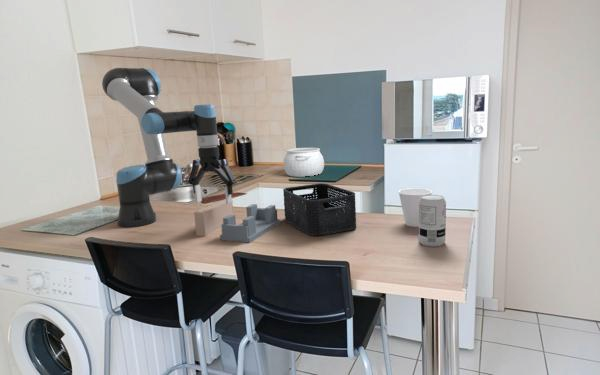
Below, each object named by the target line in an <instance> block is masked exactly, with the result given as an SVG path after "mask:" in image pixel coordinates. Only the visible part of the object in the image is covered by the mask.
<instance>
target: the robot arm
mask: <svg viewBox="0 0 600 375" xmlns="http://www.w3.org/2000/svg"><path fill="white" fill-rule="evenodd" d="M101 82H102V83H101V84H102V86H101V87H102V90H103V91H104V94H106V96H107V97H108V98H110V99H111V100H113V101H114V102H115V101H116V102H118V103H120V104H121V105H122V106H123V107H124V108H126V109H127V110H128V111H129V112H131V113H132V114H133V115H134V116H135V117H136V118H137V121H138V124H139V128H140V133H141V136H142V137H141V138H142V141H143V142H142V143H143V146H144V150H145V155H146V162H145V163H144V164H136V165H130V166H126V167H123V168H121V169H119V170H117V172H116V184H117V191H118V192H117V193H118V194H117V195H118V200H119V211H118V217H117V226H119V227H121V228H122V227H123V228H134V227H143V226H146V225H151V224H153V223H154V222H156V221H157V214H156V212H154V209H153V206H152V204H151V202H150V201H151V200H150V199H151V198H150V195H155V194H160V193H165V192H166V193H167V192H171V191H173V190H177V189H178V188H179V187H180V185H181V182H182V174H183V173H182V169H181V167H180V166H179V164H177V163H176V162H174V161H173V158H172V157H171V156H169V155H168V151H167V146H166V141H165V138H164V134H171V133H172V134H173V133H183V132H194V131H195V132H196V139H197V146H198V149H197V151H198V158H199V159H197V158H196V159H193V160H192V167H191V171H190V174H189V177H188V181H187V184H189V185H190V184H191V186H192V188H193V194H194V195H195V196H194V197H195V203H197V204H198V203H201V202H200V201H202V198H203V197H202V189H201V187H202V186H201V184H200V182H201V180H202V178H203V176H204V175H205V174H206V173H208V172H210V173H211V172H214V173H215V174H217V175H218V177H219V178H220V180H222V182H223V183H224V184H225V186H224V194H225V195H226V199H225V200H226V204H228V203H231V202H232V201H233V200H232V199H233V198H231V194H232V193H234V192H233V186H234V185H236V184H237V180H236V178H235V176H234V174H233V172H232V170H231V168H230V166H229V164H228V159H227V158H224V159H220V147H219V137H218V126H217V124H218V123H217V114H216V109H215V106H214V105H213V104H196V105H194V107H193V110H184V111H170V112H169V111H167V112H164V111H162V110H161V109H159V108H158V107H157V100H158V98H159V95H160V94H161V93H160V92H161V87H162V86H161V85H162V84H161V80H160V77H159V76H158V74H157V73H156V72H155V71H154V70H153V69H150V68H145V67H144V68H143V67H141V68H137V67H135V68H134V67H133V68H132V67H131V68H130V67H129V68H128V67H115V68H112V69H110V70H108V71H107V72H106V73H105V74H104V76H103V78H102V80H101ZM199 167H200V168H199Z"/></svg>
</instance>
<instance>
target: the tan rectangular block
mask: <svg viewBox="0 0 600 375" xmlns="http://www.w3.org/2000/svg"><path fill="white" fill-rule="evenodd" d="M233 203H234V200H232V202H231V203H228V204H226V199H224V200H220V201H216V202H214V203H213V204H210V205H208V206H206V207H203V208H201V209H198V210H196V211H194V212H193V214H194V224H195V225H194V226H195V235H198V236H199V237H207V236H209V235H211V234H213V233H215V232H216V230H217V231H219V230H221V229H222V226H221V225H222V224H223V218H225V217H227V216H229V215H235V214H234V204H233ZM220 228H221V229H220ZM218 229H219V230H218ZM214 231H215V232H214ZM212 232H213V233H212ZM210 233H211V234H210ZM208 234H209V235H208ZM206 235H207V236H206Z"/></svg>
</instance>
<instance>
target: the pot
mask: <svg viewBox="0 0 600 375" xmlns="http://www.w3.org/2000/svg"><path fill="white" fill-rule="evenodd" d="M324 168H325V160H324V156H323V154H322V153H321V148H319V147H295V148H290V149H286V154H285V156H284V158H283V169H284V172H285V174H286V175H287V176H289V177H292V178H293V177H295V178H306V177H305V176H310V177H315V176H314V175H316V176H319V175H321V174H322V173H323V171H324ZM318 174H319V175H318Z"/></svg>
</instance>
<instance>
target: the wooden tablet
mask: <svg viewBox="0 0 600 375" xmlns="http://www.w3.org/2000/svg"><path fill="white" fill-rule="evenodd" d="M247 194H248V193H247V192H233V193H232V194H231V198H232V199H233V198H236V197H240V196H245V195H247ZM222 200H226V195H225V193H223V194H216V195H210V196H206V197H202V201H200V202H199V203H201V204H209V203H216V202H220V201H222Z"/></svg>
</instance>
